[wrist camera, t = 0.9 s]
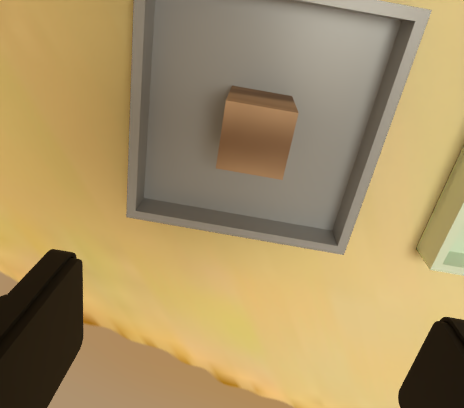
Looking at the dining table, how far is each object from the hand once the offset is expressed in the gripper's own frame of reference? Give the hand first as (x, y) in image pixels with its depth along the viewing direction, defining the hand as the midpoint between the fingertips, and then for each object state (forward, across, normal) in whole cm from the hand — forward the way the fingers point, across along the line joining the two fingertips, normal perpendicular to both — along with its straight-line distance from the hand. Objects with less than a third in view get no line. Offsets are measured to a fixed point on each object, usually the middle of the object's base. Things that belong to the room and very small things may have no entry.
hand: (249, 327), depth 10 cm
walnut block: (+24, 0, 0) cm, 24 cm away
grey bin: (+25, 0, 0) cm, 25 cm away
